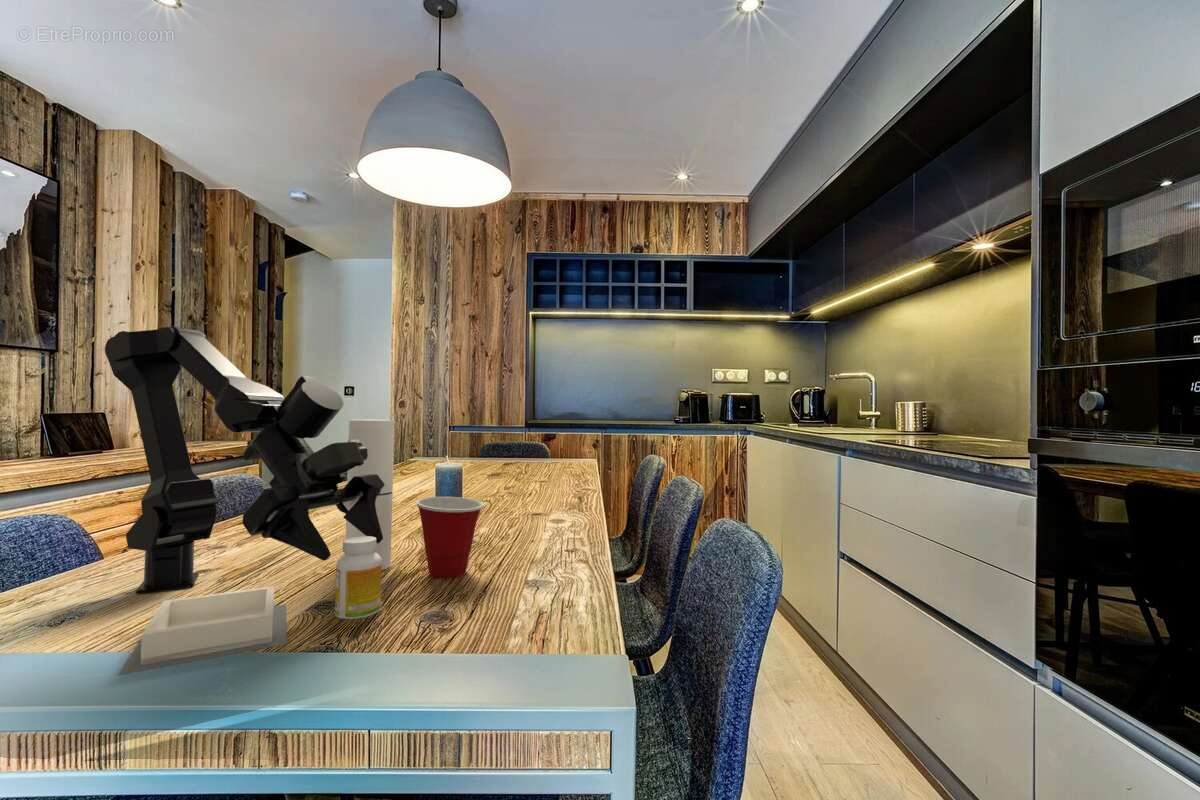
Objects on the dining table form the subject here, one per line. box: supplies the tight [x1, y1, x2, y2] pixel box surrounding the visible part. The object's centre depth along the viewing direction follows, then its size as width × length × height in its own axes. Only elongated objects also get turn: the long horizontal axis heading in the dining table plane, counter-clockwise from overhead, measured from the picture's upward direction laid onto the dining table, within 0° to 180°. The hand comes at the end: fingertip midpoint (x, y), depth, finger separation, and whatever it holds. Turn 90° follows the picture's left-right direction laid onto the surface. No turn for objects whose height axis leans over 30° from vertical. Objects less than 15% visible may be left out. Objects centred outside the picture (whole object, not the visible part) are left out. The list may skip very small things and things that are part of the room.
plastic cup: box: [416, 496, 485, 579], centre depth 86 cm, size 11×11×12 cm
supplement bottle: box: [334, 536, 382, 620], centre depth 68 cm, size 5×5×10 cm
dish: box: [141, 585, 275, 665], centre depth 60 cm, size 11×11×3 cm
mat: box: [117, 604, 288, 676], centre depth 60 cm, size 14×14×1 cm
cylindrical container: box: [345, 419, 395, 571], centre depth 89 cm, size 7×7×25 cm
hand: (355, 549), depth 68 cm, fingers open, 9 cm apart
